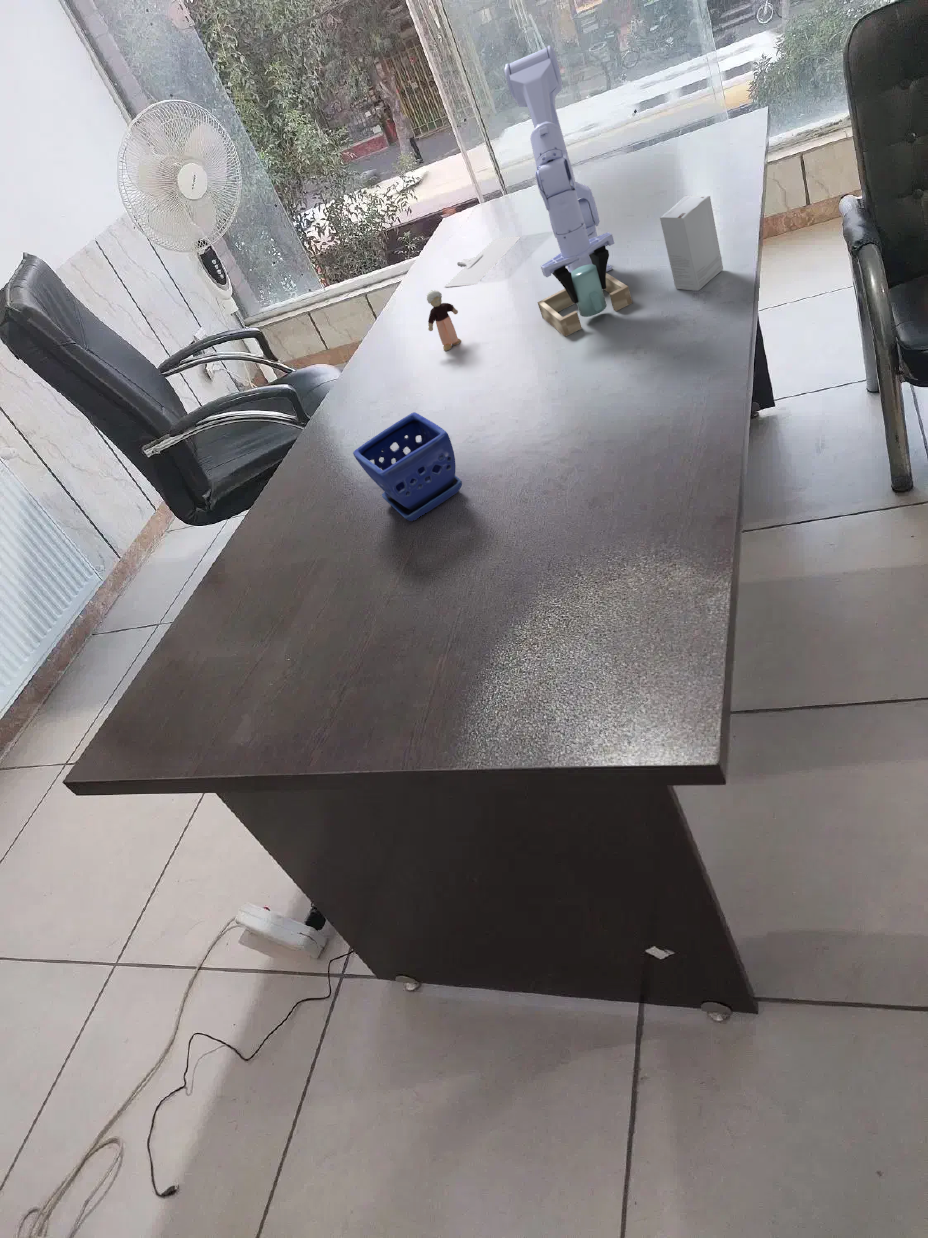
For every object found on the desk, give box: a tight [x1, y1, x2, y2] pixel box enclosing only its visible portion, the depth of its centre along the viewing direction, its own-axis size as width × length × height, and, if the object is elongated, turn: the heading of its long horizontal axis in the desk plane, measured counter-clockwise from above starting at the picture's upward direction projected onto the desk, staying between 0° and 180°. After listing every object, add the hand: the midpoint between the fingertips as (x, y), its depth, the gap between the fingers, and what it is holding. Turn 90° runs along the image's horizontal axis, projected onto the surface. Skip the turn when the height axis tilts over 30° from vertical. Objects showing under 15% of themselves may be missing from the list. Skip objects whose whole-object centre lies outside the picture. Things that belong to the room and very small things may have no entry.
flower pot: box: [352, 412, 463, 522], centre depth 144 cm, size 13×13×12 cm
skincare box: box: [659, 195, 724, 292], centre depth 164 cm, size 8×6×15 cm
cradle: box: [537, 272, 633, 338], centre depth 177 cm, size 14×15×4 cm
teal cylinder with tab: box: [571, 264, 608, 318], centre depth 170 cm, size 6×8×8 cm
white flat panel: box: [444, 235, 522, 288], centre depth 220 cm, size 25×24×1 cm
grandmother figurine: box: [426, 289, 462, 352], centre depth 187 cm, size 8×4×13 cm, turn 131°
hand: (588, 294), depth 171 cm, fingers closed on teal cylinder with tab, 5 cm apart
